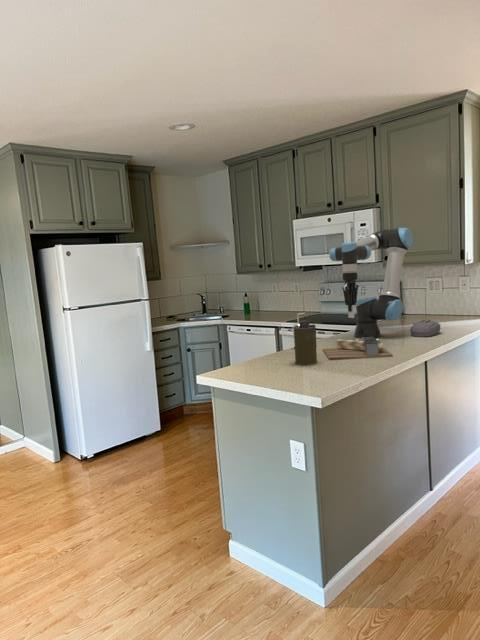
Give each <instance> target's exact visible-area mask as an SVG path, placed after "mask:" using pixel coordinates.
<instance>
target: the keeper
mask: <svg viewBox="0 0 480 640" xmlns="http://www.w3.org/2000/svg"><path fill="white" fill-rule="evenodd" d="M360 339H361V340H360V341H363V342H364V343H365V354H366V355H367V356H372V355H379V352H378V340H377V339H378V338H374V337H361V338H360Z"/></svg>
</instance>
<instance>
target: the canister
mask: <svg viewBox="0 0 480 640" xmlns="http://www.w3.org/2000/svg"><path fill="white" fill-rule="evenodd" d="M297 323H299V324H300V325H299V326H294V325H293V326H294V327H293V326H292V329H293V328H294V335H293V341H294V342H293V343H294V359H295V360H294V361H295V362H294V364H295V365H299V366H314V365H317V363H318V359H317V329H316V327H317V325H316V324H312V323H311V324H310V321H309V320H299V322H298V321H297Z"/></svg>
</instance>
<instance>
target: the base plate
mask: <svg viewBox="0 0 480 640" xmlns="http://www.w3.org/2000/svg"><path fill="white" fill-rule="evenodd" d="M322 352H323V353H324V355H325V356H326V358H327V359H328V361H339V360H355V359H372V358H373V359H374V358H375V359H376V358H393V357H394V356H393V354H392V352H390V351H388V350H387V349H386V348H385V347H383V351H382V352H379V355H372V356H367V355H366V354H365V350H354V349H342V348H337V347H328V348H322Z"/></svg>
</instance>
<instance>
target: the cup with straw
mask: <svg viewBox="0 0 480 640" xmlns="http://www.w3.org/2000/svg"><path fill="white" fill-rule="evenodd" d="M305 314H307V313H306V312H299V313H297V314H296V315H297V322H296V323H295V324H294V325H292V328H291V330H290V331H291V332H292V335H293V336H294V328H293V327H294V326H299V325H300V324H299V323H298V322H299V321H300V319H299V315H305Z"/></svg>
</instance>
